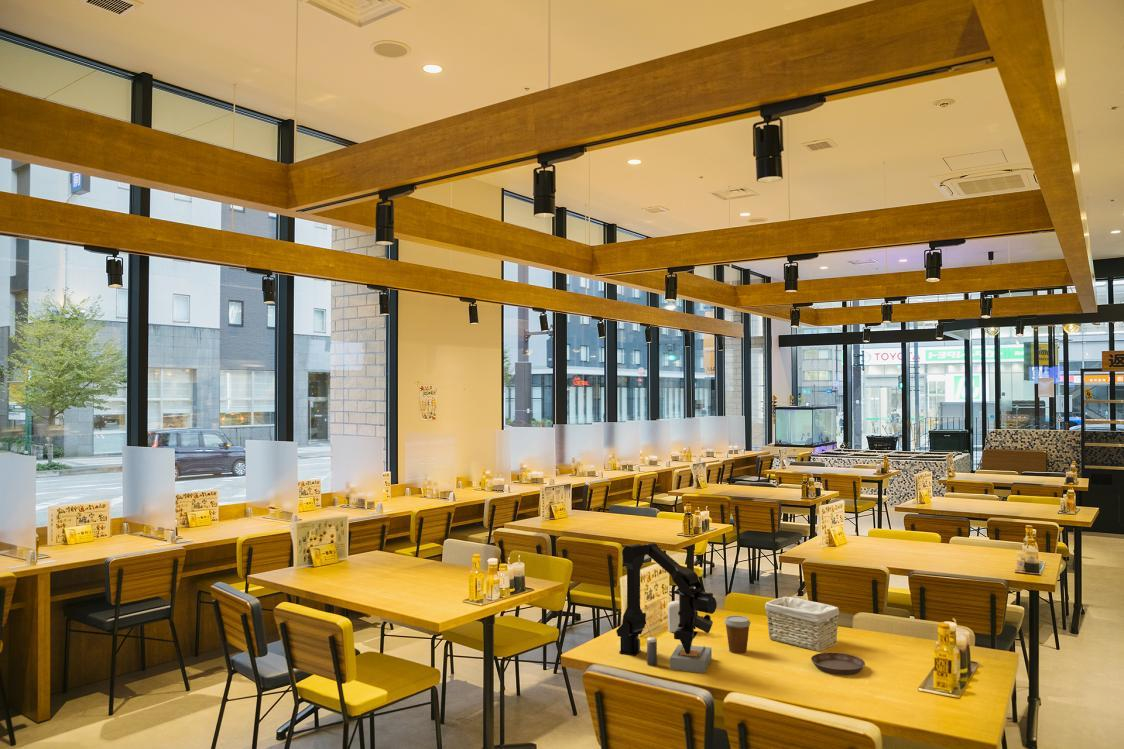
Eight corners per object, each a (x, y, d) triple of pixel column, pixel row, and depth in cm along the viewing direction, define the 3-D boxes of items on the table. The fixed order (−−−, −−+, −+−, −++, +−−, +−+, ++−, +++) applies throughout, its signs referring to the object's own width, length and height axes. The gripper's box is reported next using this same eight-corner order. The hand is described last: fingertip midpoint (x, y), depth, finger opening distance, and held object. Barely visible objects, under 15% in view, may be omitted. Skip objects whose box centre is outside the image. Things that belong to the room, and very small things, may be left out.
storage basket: (841, 645, 288) (841, 606, 288) (820, 654, 277) (819, 613, 277) (786, 632, 305) (785, 595, 306) (764, 640, 294) (763, 602, 295)
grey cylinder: (646, 665, 264) (646, 639, 265) (648, 662, 268) (648, 636, 268) (655, 666, 263) (655, 640, 264) (657, 663, 266) (657, 637, 267)
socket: (670, 669, 260) (669, 655, 261) (678, 655, 275) (678, 642, 276) (704, 673, 256) (704, 659, 257) (711, 658, 271) (711, 645, 272)
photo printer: (668, 632, 304) (668, 601, 305) (667, 629, 308) (667, 599, 309) (694, 633, 304) (693, 602, 304) (692, 630, 308) (692, 599, 309)
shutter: (680, 654, 262) (680, 649, 263) (683, 649, 268) (683, 644, 268) (697, 656, 260) (697, 651, 261) (700, 651, 266) (700, 646, 266)
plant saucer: (831, 680, 250) (831, 670, 250) (801, 663, 267) (800, 654, 267) (876, 675, 255) (876, 665, 255) (843, 659, 272) (843, 650, 272)
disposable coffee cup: (751, 656, 274) (751, 622, 275) (724, 654, 276) (724, 621, 277) (750, 648, 284) (749, 615, 284) (724, 646, 286) (724, 614, 286)
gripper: (706, 617, 250) (707, 664, 249) (714, 604, 268) (715, 648, 267) (673, 614, 254) (673, 661, 253) (683, 601, 271) (684, 645, 271)
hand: (687, 653), depth 261 cm, fingers closed
